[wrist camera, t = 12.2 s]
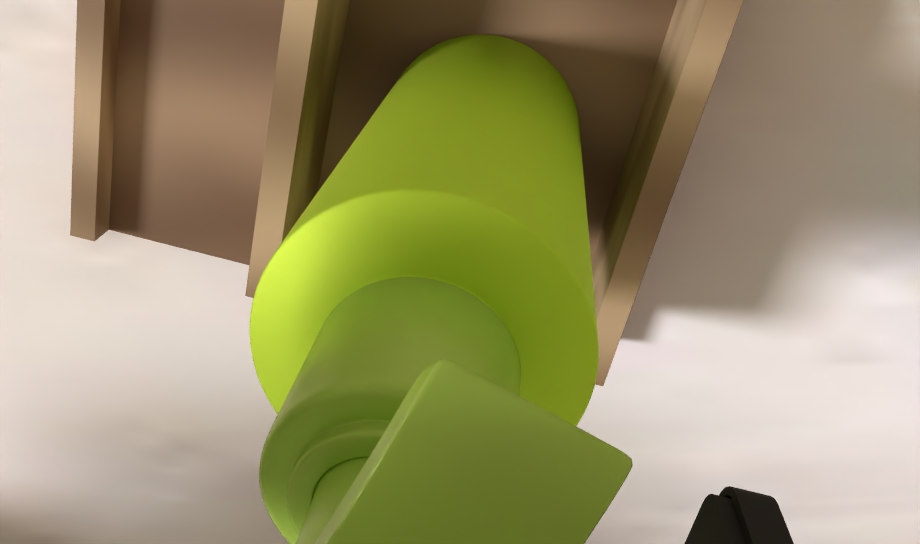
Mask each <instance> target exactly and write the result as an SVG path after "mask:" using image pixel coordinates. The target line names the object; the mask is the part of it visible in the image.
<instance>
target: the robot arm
mask: <svg viewBox="0 0 920 544" xmlns="http://www.w3.org/2000/svg"><path fill="white" fill-rule="evenodd" d="M685 544H794V543H793V541H792V538H791V536H790V533H789V531H788V528H787V526H786V523H785V521H784V518H783V516H782V513H781V511H780V508H779V506H778V504H777V502H776V500H775V499H774V498H773V497H771V496H768V495H764V494H759V493H755V492H751V491H747V490H743V489H738V488H734V487H730V486H729V487H725V488H724V489H723V490H722V491H721V493H720V495H719V496H718V495H714V494H710V495H708V496H707V497H706V498H705V500H704V502H703V504H702V506H701V508H700V510H699V513H698V515H697V517H696V519H695V522H694V524H693V526H692V528H691V531H690V533H689V535H688V537H687V540H686V542H685Z"/></svg>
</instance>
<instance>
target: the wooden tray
mask: <svg viewBox="0 0 920 544" xmlns="http://www.w3.org/2000/svg"><path fill="white" fill-rule="evenodd" d="M742 3H743V0H77V31H76V64H75V98H74V131H73V164H72V198H71V231H70V235H72V236H75V237H79V238H83V239H87V240H91V241H95V240H97V239H98V238H99V237H100V236H101V235H103V234H104V233H105V232H106V231H108V230H113V231H117V232H121V233H125V234H128V235H132V236H136V237H140V238H144V239H148V240H152V241H156V242H160V243H164V244H168V245H172V246H176V247H180V248H184V249H188V250H192V251H196V252H200V253H204V254H208V255H211V256H215V257H219V258H223V259H227V260H231V261H235V262H239V263H243V264H247V265H249V273H248V280H247V288H246V295H245V296H248V297H252V298H254V295H255V291H256V288H257V285H258V283H259V280H260V278H261V276H262V273H263V271H264V269H265V267H266V266H267V264H268V262H269V260H270V259H271V257H272V256H273V254H274V253H275V251H276V250H277V249H278V247H279V246H280V244H281V243H282V242H283V240H284V239H285V237H286V236H287V235H288V233H289V232H290V230H291V229H292V228H293V226H294V225H295V223H296V222H297V221H298V219H299V218H300V216H301V215H302V214H303V212H304V211H305V209H306V208H307V207H308V205H309V204H310V202H311V201H312V200H313V198H314V197H315V195H316V194H317V193H318V191H319V190H320V188H321V187H322V186H323V184H324V183H325V181H326V180H327V179H328V177H329V176H330V174H331V173H332V172H333V170H334V169H335V167H336V166H337V165H338V163H339V162H340V160H341V159H342V158H343V156H344V155H345V153H346V152H347V151H348V149H349V148H350V146H351V145H352V144H353V142H354V141H355V139H356V138H357V137H358V135H359V134H360V132H361V131H362V129H363V128H364V127H365V125H366V124H367V122H368V121H369V120H370V118H371V117H372V115H373V114H374V113H375V111H376V110H377V108H378V107H379V106H380V104H381V103H382V101H383V100H384V99H385V97H386V96H387V94H388V93H389V92H390V90H391V89H392V87H393V86H394V85H395V83H396V82H397V80H398V79H399V78H400V76H401V75H402V73H403V72H404V71H405V70H406V68H407V67H408V66H409V65H410V64H411V63H412V62H413V61H414V60H415V59H416V58H417V57H419V56H420V55H421V54H422V53H424V52H425V51H427V50H428V49H430V48H431V47H433V46H435V45H437V44H439V43H441V42H444V41H446V40H449V39H452V38H456V37H460V36H466V35H476V34H485V35H495V36H501V37H505V38H509V39H512V40H515V41H517V42H520V43H522V44H524V45H526V46H528V47H530V48H532V49H533V50H535V51H536V52H538V53H539V54H541V55H542V56H543V57H544V58H546V59H547V60H548V61H549V62H550V63H551V64H552V65H553V66H554V67H555V68H556V70H557V71H558V72H559V73H560V75H561V76H562V77H563V79H564V80H565V82H566V84H567V86H568V87H569V89H570V91H571V94H572V96H573V99H574V102H575V105H576V109H577V113H578V119H579V129H580V140H581V152H582V163H583V174H584V186H585V197H586V208H587V219H588V231H589V242H590V253H591V264H592V276H593V287H594V298H595V309H596V321H597V332H598V345H599V359H598V370H597V376H596V381H595V384H596V385H600V386H603V385H604V382H605V379H606V377H607V374H608V371H609V368H610V366H611V363H612V360H613V357H614V355H615V352H616V349H617V346H618V344H619V341H620V338H621V335H622V333H623V330H624V327H625V324H626V322H627V319H628V316H629V313H630V311H631V308H632V305H633V302H634V300H635V297H636V294H637V291H638V289H639V286H640V283H641V280H642V278H643V275H644V272H645V269H646V267H647V264H648V261H649V258H650V256H651V253H652V250H653V247H654V245H655V242H656V239H657V236H658V234H659V231H660V228H661V225H662V223H663V220H664V217H665V214H666V212H667V209H668V206H669V203H670V201H671V198H672V195H673V192H674V190H675V187H676V184H677V181H678V179H679V176H680V173H681V170H682V168H683V165H684V162H685V159H686V157H687V154H688V151H689V148H690V146H691V143H692V140H693V137H694V135H695V132H696V129H697V126H698V124H699V121H700V118H701V115H702V113H703V110H704V107H705V104H706V102H707V99H708V96H709V93H710V91H711V88H712V85H713V82H714V80H715V77H716V74H717V71H718V69H719V66H720V63H721V60H722V58H723V55H724V52H725V49H726V47H727V44H728V41H729V38H730V36H731V33H732V30H733V27H734V25H735V22H736V19H737V16H738V14H739V11H740V8H741V5H742Z"/></svg>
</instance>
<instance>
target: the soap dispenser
mask: <svg viewBox="0 0 920 544" xmlns="http://www.w3.org/2000/svg"><path fill="white" fill-rule="evenodd" d="M250 344H251V351H252V357H253V361H254V365H255V369H256V372H257V375H258V378H259V381H260V383H261V386H262V388H263V390H264V392H265V394H266V396H267V398H268V400H269V401H270V403H271V405H272V406H273V408H274V410H275V411H276V413H277V414H278V415H277V417H276V419H275V421H274V423H273V425H272V428H271V430H270V432H269V434H268V437H267V439H266V441H265V444H264V447H263V451H262V456H261V462H260V471H259V478H260V488H261V493H262V497H263V500H264V503H265V506H266V508H267V511H268V513H269V515H270V517H271V519H272V520H273V522H274V524H275V525H276V527H277V528H278V530H279V531H280V532H281V534H282V535H283V536H284V537H285V539H286V540H287V541H288V542H289V543H290V544H584V543H585V542H586V540H587V539H588V537H589V536H590V534H591V533H592V531H593V530H594V528H595V526H596V525H597V523H598V522H599V520H600V519H601V517H602V516H603V514H604V513H605V511H606V510H607V508H608V507H609V505H610V503H611V502H612V500H613V499H614V497H615V495H616V494H617V492H618V491H619V489H620V487H621V486H622V484H623V482H624V481H625V479H626V477H627V476H628V474H629V472H630V470H631V468H632V459H631V458H630V457H629V456H627V455H626V454H625V453H624V452H622V451H620V450H618V449H616V448H615V447H613V446H611V445H609V444H607V443H605V442H604V441H602V440H600V439H598V438H596V437H594V436H593V435H591V434H589V433H587V432H585V431H584V430H582V429H580V428H578V427H576V426H577V424H578V423H579V421H580V419H581V417H582V416H583V414H584V412H585V410H586V408H587V405H588V403H589V401H590V398H591V395H592V392H593V389H594V385H595V381H596V376H597V370H598V359H599V345H598V332H597V321H596V309H595V298H594V287H593V276H592V264H591V253H590V242H589V231H588V219H587V208H586V197H585V186H584V174H583V163H582V152H581V140H580V129H579V119H578V113H577V109H576V105H575V102H574V99H573V96H572V94H571V91H570V89H569V87H568V86H567V84H566V82H565V80H564V79H563V77H562V76H561V75H560V73H559V72H558V71H557V70H556V68H555V67H554V66H553V65H552V64H551V63H550V62H549V61H548V60H547V59H546V58H544V57H543V56H542V55H541V54H539V53H538V52H536V51H535V50H533V49H532V48H530V47H528V46H526V45H524V44H522V43H520V42H517V41H515V40H512V39H509V38H505V37H501V36H495V35H485V34H476V35H466V36H460V37H456V38H452V39H449V40H446V41H444V42H441V43H439V44H437V45H435V46H433V47H431V48H430V49H428V50H427V51H425V52H424V53H422V54H421V55H420V56H419V57H417V58H416V59H415V60H414V61H413V62H412V63H411V64H410V65H409V66H408V67H407V68H406V70H405V71H404V72H403V73H402V75H401V76H400V78H399V79H398V80H397V82H396V83H395V85H394V86H393V87H392V89H391V90H390V92H389V93H388V94H387V96H386V97H385V99H384V100H383V101H382V103H381V104H380V106H379V107H378V108H377V110H376V111H375V113H374V114H373V115H372V117H371V118H370V120H369V121H368V122H367V124H366V125H365V127H364V128H363V129H362V131H361V132H360V134H359V135H358V137H357V138H356V139H355V141H354V142H353V144H352V145H351V146H350V148H349V149H348V151H347V152H346V153H345V155H344V156H343V158H342V159H341V160H340V162H339V163H338V165H337V166H336V167H335V169H334V170H333V172H332V173H331V174H330V176H329V177H328V179H327V180H326V181H325V183H324V184H323V186H322V187H321V188H320V190H319V191H318V193H317V194H316V195H315V197H314V198H313V200H312V201H311V202H310V204H309V205H308V207H307V208H306V209H305V211H304V212H303V214H302V215H301V216H300V218H299V219H298V221H297V222H296V223H295V225H294V226H293V228H292V229H291V230H290V232H289V233H288V235H287V236H286V237H285V239H284V240H283V242H282V243H281V244H280V246H279V247H278V249H277V250H276V251H275V253H274V254H273V256H272V257H271V259H270V260H269V262H268V264H267V266H266V267H265V269H264V271H263V273H262V276H261V278H260V280H259V283H258V285H257V288H256V291H255V295H254V298H253V303H252V309H251V316H250Z"/></svg>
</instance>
